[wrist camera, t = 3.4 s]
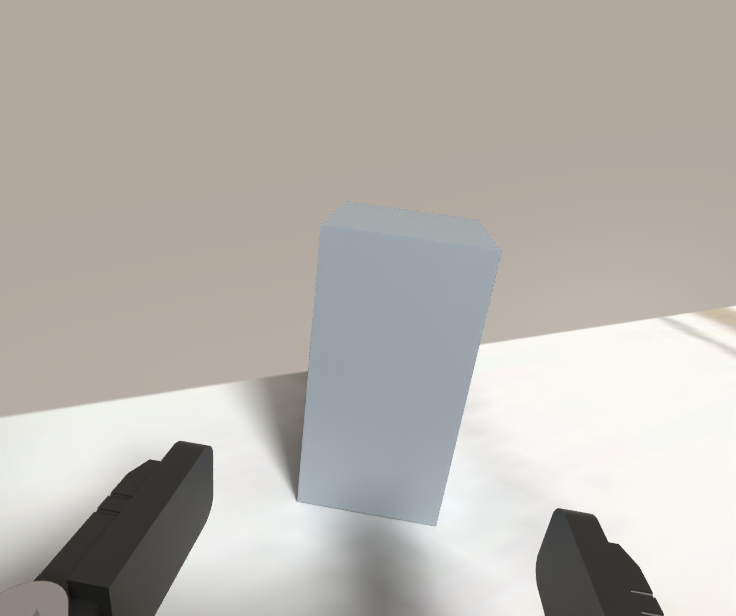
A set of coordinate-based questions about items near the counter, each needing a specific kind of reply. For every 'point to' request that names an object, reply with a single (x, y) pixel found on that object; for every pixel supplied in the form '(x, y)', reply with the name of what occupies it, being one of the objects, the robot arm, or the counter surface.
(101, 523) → the robot arm
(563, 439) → the counter surface
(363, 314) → the tall pale blue block
